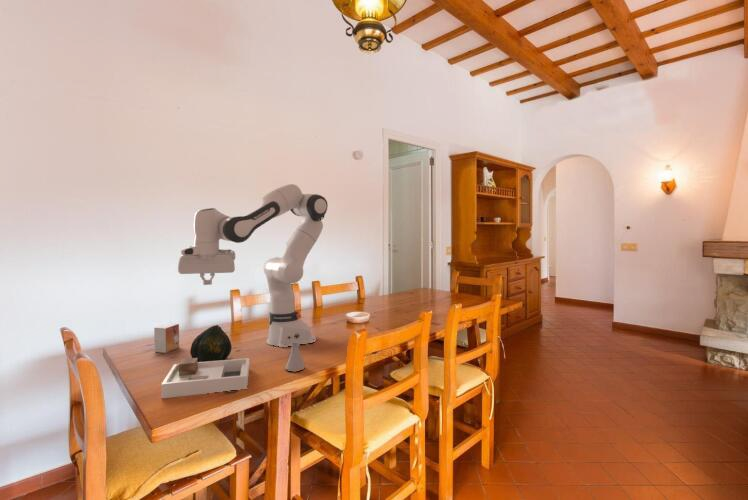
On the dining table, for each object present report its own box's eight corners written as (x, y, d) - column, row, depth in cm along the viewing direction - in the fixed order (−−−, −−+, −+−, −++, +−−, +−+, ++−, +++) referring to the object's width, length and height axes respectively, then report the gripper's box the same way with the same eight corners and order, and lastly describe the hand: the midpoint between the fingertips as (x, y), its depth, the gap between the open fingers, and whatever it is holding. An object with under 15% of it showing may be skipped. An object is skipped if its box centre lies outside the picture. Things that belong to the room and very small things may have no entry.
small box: (165, 353, 151) (165, 328, 150) (154, 352, 152) (153, 327, 151) (179, 347, 159) (179, 323, 158) (168, 346, 160) (168, 322, 159)
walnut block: (197, 368, 128) (197, 357, 127) (195, 374, 123) (195, 362, 123) (181, 370, 126) (181, 359, 126) (178, 375, 121) (178, 364, 121)
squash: (181, 358, 131) (211, 324, 135) (184, 347, 145) (211, 317, 148) (213, 379, 135) (241, 346, 139) (213, 367, 149) (239, 337, 153)
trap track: (249, 369, 135) (249, 358, 135) (247, 389, 119) (247, 376, 119) (174, 376, 128) (174, 364, 128) (161, 398, 112) (161, 384, 111)
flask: (295, 374, 132) (295, 347, 131) (281, 370, 135) (281, 344, 135) (308, 368, 138) (309, 342, 137) (294, 364, 142) (295, 339, 141)
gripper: (235, 248, 148) (236, 282, 149) (180, 249, 142) (181, 284, 143) (234, 249, 142) (235, 284, 143) (176, 250, 136) (177, 286, 137)
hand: (207, 284), depth 143 cm, fingers closed
